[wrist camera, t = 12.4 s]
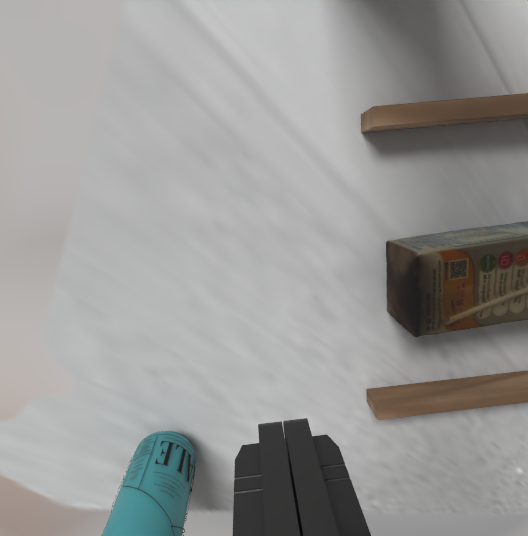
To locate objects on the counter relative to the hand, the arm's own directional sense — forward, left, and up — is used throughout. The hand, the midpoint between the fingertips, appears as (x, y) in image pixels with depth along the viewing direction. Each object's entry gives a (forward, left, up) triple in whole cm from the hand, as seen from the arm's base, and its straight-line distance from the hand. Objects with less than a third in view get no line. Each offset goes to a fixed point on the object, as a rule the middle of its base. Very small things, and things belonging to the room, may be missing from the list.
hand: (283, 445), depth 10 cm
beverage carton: (+2, +22, -23) cm, 32 cm away
